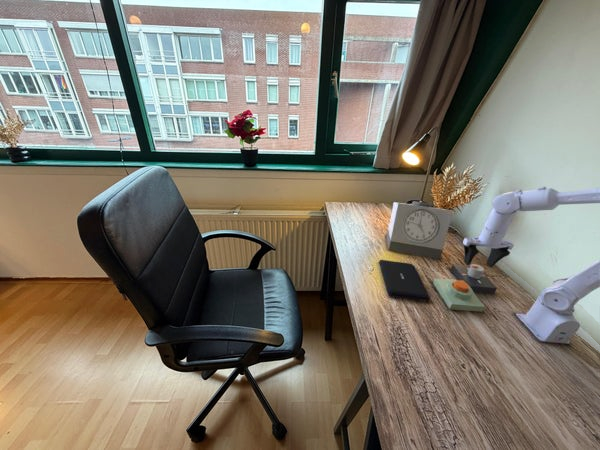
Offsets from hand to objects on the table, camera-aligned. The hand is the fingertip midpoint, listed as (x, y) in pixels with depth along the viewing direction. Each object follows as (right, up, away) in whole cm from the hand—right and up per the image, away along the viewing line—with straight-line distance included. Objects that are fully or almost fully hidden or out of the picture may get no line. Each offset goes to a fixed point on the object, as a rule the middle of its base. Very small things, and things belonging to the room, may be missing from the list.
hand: (477, 264), depth 83 cm
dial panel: (+2, -7, +6) cm, 9 cm away
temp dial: (+2, -5, +5) cm, 7 cm away
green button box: (-9, -10, -2) cm, 14 cm away
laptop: (-24, -6, +4) cm, 25 cm away
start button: (-8, -7, -4) cm, 12 cm away
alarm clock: (-11, +4, +26) cm, 28 cm away
